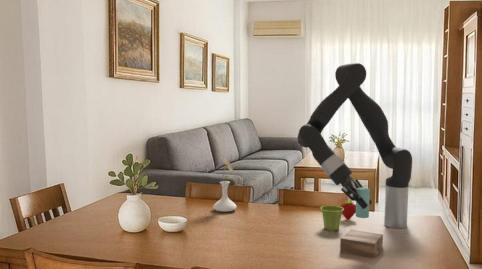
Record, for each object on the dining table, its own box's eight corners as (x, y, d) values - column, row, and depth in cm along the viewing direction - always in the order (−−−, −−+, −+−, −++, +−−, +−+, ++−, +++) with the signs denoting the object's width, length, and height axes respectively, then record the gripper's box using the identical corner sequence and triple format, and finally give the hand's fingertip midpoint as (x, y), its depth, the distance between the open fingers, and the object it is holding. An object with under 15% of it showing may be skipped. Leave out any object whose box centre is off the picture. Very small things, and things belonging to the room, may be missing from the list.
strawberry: (358, 221, 203) (358, 199, 202) (340, 221, 203) (341, 199, 202) (355, 218, 209) (355, 196, 208) (338, 217, 209) (338, 196, 208)
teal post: (357, 213, 170) (358, 187, 169) (370, 215, 168) (371, 188, 167) (353, 216, 166) (355, 189, 165) (366, 218, 164) (367, 191, 163)
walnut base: (350, 242, 176) (350, 229, 176) (382, 247, 170) (382, 234, 170) (340, 251, 166) (340, 238, 165) (373, 258, 160) (374, 244, 159)
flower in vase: (236, 213, 216) (236, 160, 213) (211, 213, 216) (211, 160, 213) (237, 206, 229) (237, 156, 226) (213, 206, 229) (213, 156, 226)
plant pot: (343, 232, 188) (343, 211, 187) (319, 231, 190) (320, 210, 189) (343, 226, 197) (343, 206, 196) (320, 224, 199) (320, 204, 198)
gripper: (337, 165, 163) (370, 203, 158) (349, 160, 175) (380, 195, 170) (322, 178, 166) (354, 216, 161) (335, 172, 178) (365, 207, 173)
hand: (367, 205), depth 165 cm, fingers closed on teal post, 4 cm apart
